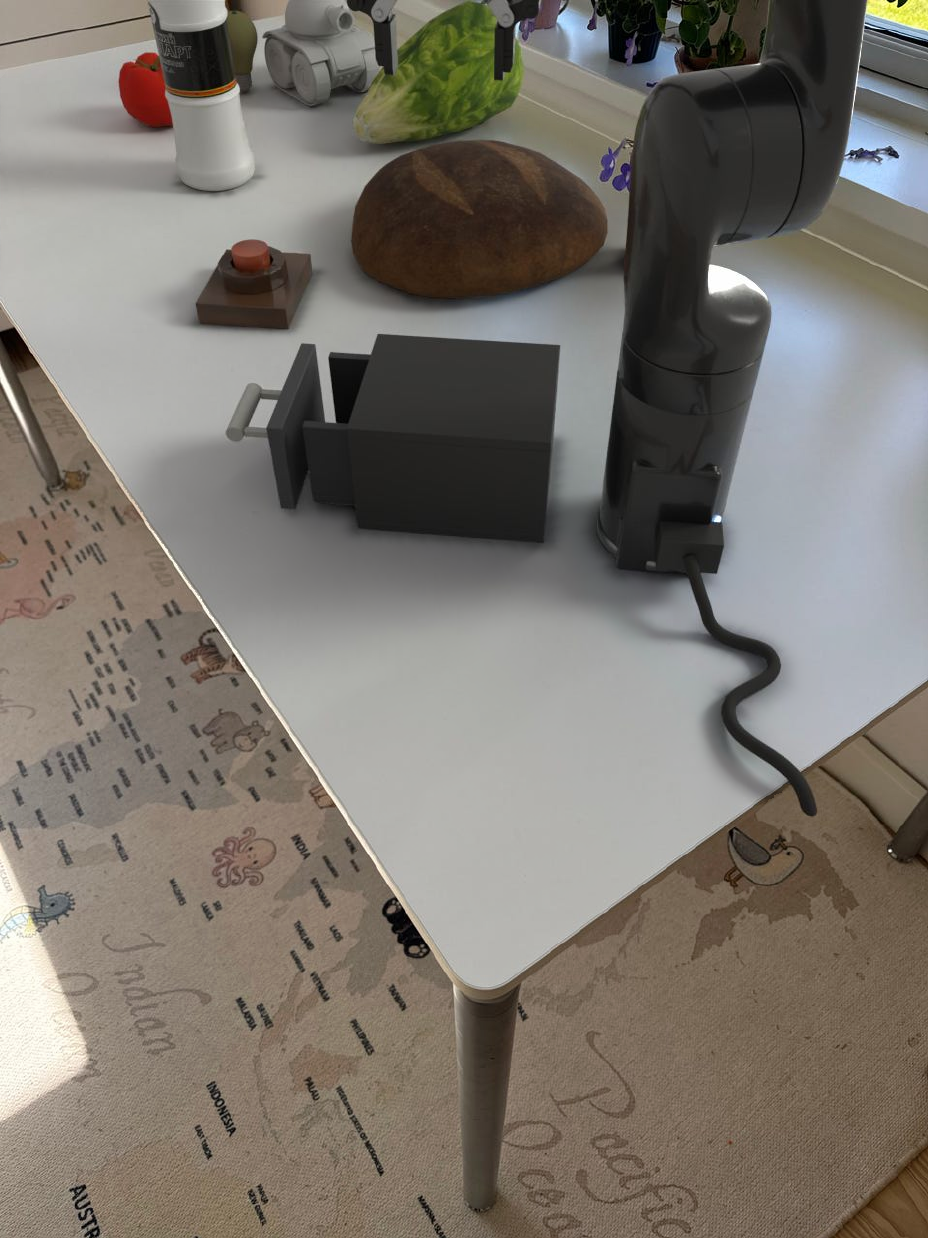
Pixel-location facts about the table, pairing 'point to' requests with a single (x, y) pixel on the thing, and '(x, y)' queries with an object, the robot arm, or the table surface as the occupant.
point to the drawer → (307, 427)
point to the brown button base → (255, 292)
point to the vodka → (202, 93)
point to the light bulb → (242, 47)
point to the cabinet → (454, 437)
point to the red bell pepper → (145, 91)
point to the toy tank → (319, 51)
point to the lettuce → (440, 81)
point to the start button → (250, 255)
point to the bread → (475, 220)
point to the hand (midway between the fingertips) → (445, 74)
